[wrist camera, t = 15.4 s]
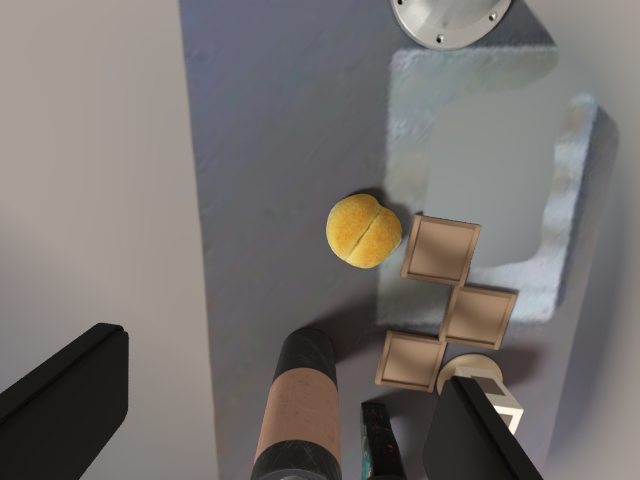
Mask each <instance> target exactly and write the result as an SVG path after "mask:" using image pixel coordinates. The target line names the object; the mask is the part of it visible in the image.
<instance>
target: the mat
mask: <svg viewBox="0 0 640 480" xmlns="http://www.w3.org/2000/svg"><path fill="white" fill-rule="evenodd" d="M457 365H458V366H465V367H472V368H479V369H486V370H492V371H493V372H494V373H495V374H496V376H497V377H498V378H499V379H500V381H501V382H503V377H502V373H501V370H500V369H499V367H498V366H497V364H496V363H495V362H494V361H493V360H491V359H490V358H488V357H486V356H484V355H480V354H463V355H460V356H457V357H455V358H453V359H451V360H450V361H448V362H447V363H446V364H445V365H444V366H443V367H442V368H441V370H440V372H439V373H438V376H437V380H436V388H437V391H438V394H439V396H440V394H441V391H442V387H443V384H444V382H445V380H447V379H448V380H450V378H451V377H452V376H454V373H455V369H456V366H457Z"/></svg>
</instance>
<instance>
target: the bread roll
mask: <svg viewBox="0 0 640 480" xmlns="http://www.w3.org/2000/svg"><path fill="white" fill-rule="evenodd" d="M401 232H402V228H401V224H400V221H399V220H398V218H397V216H396V215H395V214H394V213H393V212H392V211H390V210H389V209H387V208H384V207H382V206H381V205H380V204H378V201H377V200H376V199H375V198H374V197H373V196H371V195H368V194H357V195H353V196H349V197H347V198H345V199H343V200H341V201H340V202H338V203H337V204H336V205H335V206H334V207H333V209H332V210H331V212H330V214H329V217H328V221H327V227H326V233H327V239H328V242H329V244H330V246H331V248H332V250H333V251H334V253H335V254H336V255H337V256H338V257H340V258H341V259H343V260H345V261H346V262H348V263H350V264H352V265H354V266H357V267H361V268H371V267H374V266H376V265H378V264H379V263H381V262H383V261H384V260H386V259H387V258H388V257H389V255H390V254H392V252H393V251H394V250H395V249H396V248H397V247H398V246H399V244H400V242H401V241H402V238H401Z"/></svg>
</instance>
